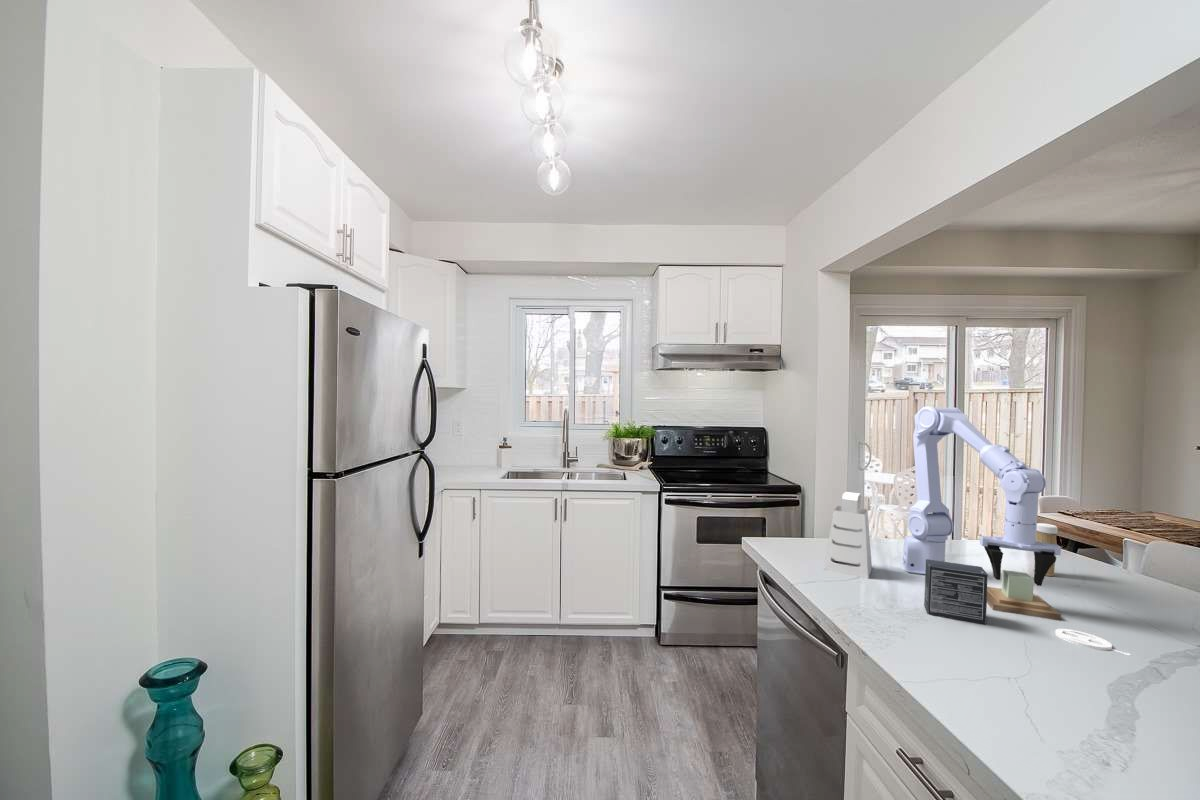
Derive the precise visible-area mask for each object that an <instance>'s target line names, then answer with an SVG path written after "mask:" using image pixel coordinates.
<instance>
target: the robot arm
mask: <svg viewBox="0 0 1200 800" xmlns="http://www.w3.org/2000/svg"><path fill="white" fill-rule="evenodd" d="M914 426H915V427H914V431H913V436H912V440H913V441H912V442H913V455H914V456H913V457H914V467H915V468H914V469H915V471H914V472H915V483H916V485H915V486H916V497H917V501H916V502H915V503H914V504H913V505H912V506H911V507H910V508H909V517H908V519H907V528H908V530H909V532H910V533H911V535H905V537H904V540H903V541H904V542H903V553H902V554H903V555H902V565H903V568H904V569H905V570H906V572H908V573H912V574H917V575H918V574H919V575H925V571H926V559H929V560H936V561H943V562H946V561H945V560H946V544H947V541H948V539H949V536H950V535H952V533H953V531H954V528H955V527H954V522H953V519H952V518H951V514H950V509H949V508H948V507H947V506H946V505H945V504H944V503H943V502H942V491H941V489H942V488H941V479H940V478H941V477H940V466H939V454H938V453H939V450H938V443H939V442H940V441H941V440H942V439H943V438H945V437H946V436H948V435H950V434H954V435H956V436H957V437H959V438H960V439H961V440H963V442H964V443H966V444H967V445H969V446H970V447H971V448H972V449H974V451H976V452H977V453H979V461H980V462H981V463H982V464H983V465H984V466H985V467H986V468H988V469H989V471H991V472H992V473H993V475H995V476H996V477H997V478H998V479H999V482H1000V486H1001V488H1002V490H1003V491H1004V498H1005V512H1004V530H1003V537H1002V536H986V535H985V536H984V535H980V536H979V545H980V546H982V547H984V550H985V552H986V555H987V556H988V559H989V561H990V565H991V568H992V575H993V578H994V579H995V580H996V581H1001V579H1002V574H1001V573H1002V561H1003V556H1004V552H1003V551H1002V549H1011V550H1019V551H1025V552H1033V555H1034V558H1035V559H1034V565H1035V572H1034V576H1033V579H1034V584H1035V585H1036V586H1038V587H1042V585H1043V582H1044V579H1045V578H1046V576H1045V575H1046V573H1047V572H1048V570H1049V569H1050V567H1051V566H1052V565H1053V564H1054V563H1055V564H1056V561H1057V556H1061V554H1062V553H1061V552H1062V551H1061V550H1062V547H1061V546H1060V545H1059V544H1056V545H1055V544H1048V543H1042V542H1036V529H1037V523H1038V511H1039V510H1038V508H1039V496H1040V495H1039V494H1040V493H1042V492H1044V490H1045V488H1046V484H1047V482H1046V478H1045V476H1044V474H1043V473H1042V472H1041V470H1039V469H1037V468H1032V467H1028V466H1027V464H1026V463H1025V462H1024V461H1021V460H1020V459H1018V458H1017V457H1016V456H1015V455H1013V454H1012V453H1011V452H1010V451H1011V449H1010V448H1009V447H1008V446H1005V445H1001V444H993V443H992V442H991V441H990V440H989V439H988V438H987V437H986V436H985V435H984V434H983V433H982V432H981V431H980V430H979V429H977V427H975V426H974V424H973V423H971V422H970V421H969V419H968V415H966V414H965V413H964V412H962V411H961V410H960V408H958V407H953V406H952V407H943V406H939V407H938V406H931V405H930V406H928V405H927V406H924V407H921V409H920V410H919V411H918V412H917V413H916V414H915V415H914ZM1054 555H1056V557H1055V556H1054Z"/></svg>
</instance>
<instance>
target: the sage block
mask: <svg viewBox="0 0 1200 800" xmlns="http://www.w3.org/2000/svg"><path fill="white" fill-rule="evenodd" d="M1001 573H1002V574H1001V591H1002V592H1003V593H1004V594H1005V595H1006V596H1007V597H1008V598H1013V599H1019V600H1026V601H1033V594H1034V584H1035V583H1034V577H1032V576H1031V575H1029V574H1028V573H1027V572H1022V571H1015V570H1007V569H1001Z"/></svg>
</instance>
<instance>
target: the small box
mask: <svg viewBox="0 0 1200 800" xmlns="http://www.w3.org/2000/svg"><path fill="white" fill-rule="evenodd" d="M924 575H925V576H924V577H925V578H924V598H923V599H924V601H923V606H924V609H925V612H926V614H927V615H931V616H935V617H942V618H946V619H953V620H957V621H958V620H959V621H965V622H970V623H976V624H980V625H987V624H988V620H987V606H988V604H987V587H988V577H989V574H988V573H987V571H986V570H985V569H984V568H983V567H982V566H979V565H972V564H965V563H964V564H963V563H955V562H949V561H945V562H943V561H936V560H929V559H926V571H925V574H924Z"/></svg>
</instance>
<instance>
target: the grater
mask: <svg viewBox="0 0 1200 800" xmlns="http://www.w3.org/2000/svg"><path fill="white" fill-rule="evenodd" d="M861 497H862V495H861V493H859V492H850V491H845V492H844V493H842V496H841V506H840V505H838V506H837V507H835V508H834V510H833V513H832V520H831V524H830V525H831V526H830V530H829V531H830V532H829V535H828V536H829V537H828V541H827V548H826V554H825V560H824V565H823V570H824V571H826V572H827V571H828V572H831V573H838V574H843V575H848V576H853V577H858V578H864V579H869V576H870V574H871V571H872V569H873V566H872V554H871V553H872V551H871V549H872V548H871V536H870V525H869V510H868V509H863V508H861ZM836 562H839V563H836ZM842 563H845V564H842ZM849 564H850V565H849ZM854 565H855V566H854Z"/></svg>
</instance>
